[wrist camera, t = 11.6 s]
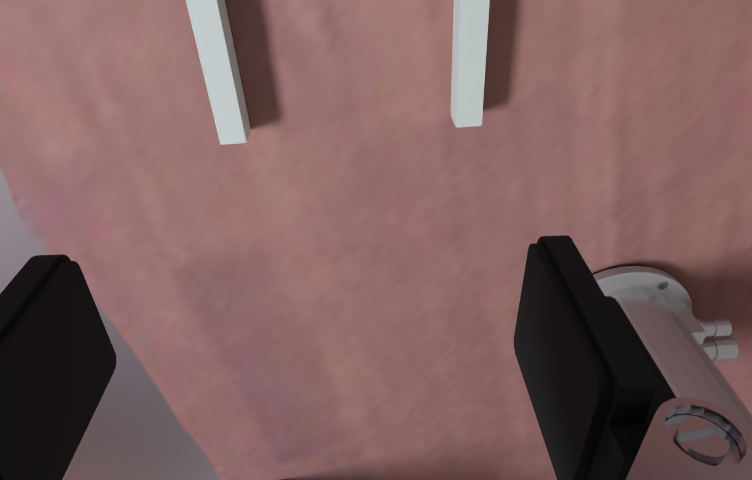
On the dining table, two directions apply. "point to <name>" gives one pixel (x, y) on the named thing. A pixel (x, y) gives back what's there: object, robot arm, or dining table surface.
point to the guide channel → (227, 86)
